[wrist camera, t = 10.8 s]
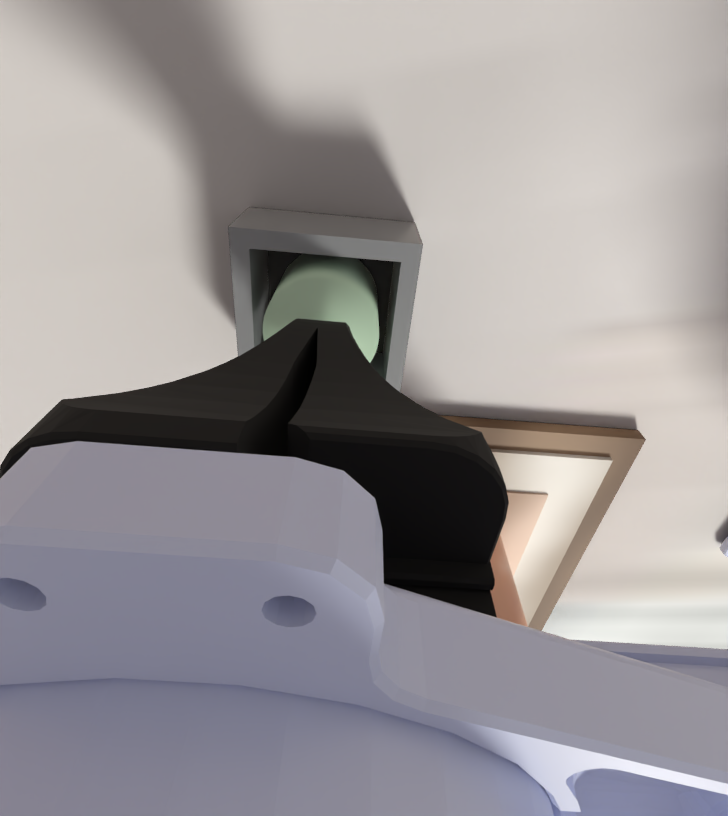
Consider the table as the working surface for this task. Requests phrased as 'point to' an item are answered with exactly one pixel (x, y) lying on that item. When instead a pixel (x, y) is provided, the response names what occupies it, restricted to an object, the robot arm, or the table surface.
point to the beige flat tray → (553, 498)
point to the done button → (327, 298)
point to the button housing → (332, 239)
